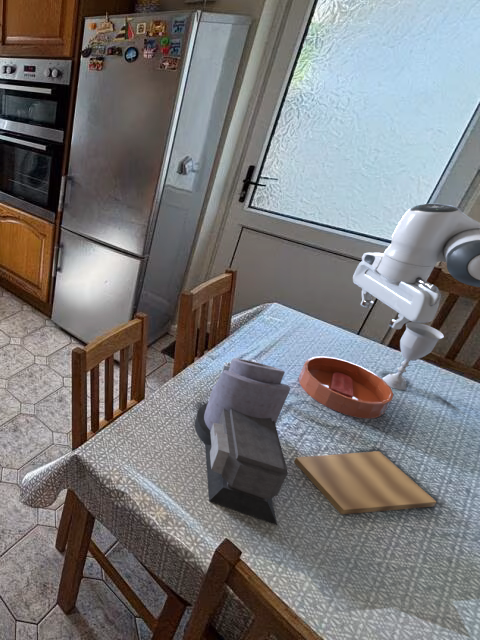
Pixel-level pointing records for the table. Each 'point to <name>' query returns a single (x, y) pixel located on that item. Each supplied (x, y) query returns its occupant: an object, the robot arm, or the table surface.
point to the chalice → (413, 350)
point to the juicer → (244, 438)
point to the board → (363, 482)
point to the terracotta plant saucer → (367, 387)
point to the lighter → (227, 365)
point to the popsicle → (342, 384)
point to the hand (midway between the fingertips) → (379, 316)
